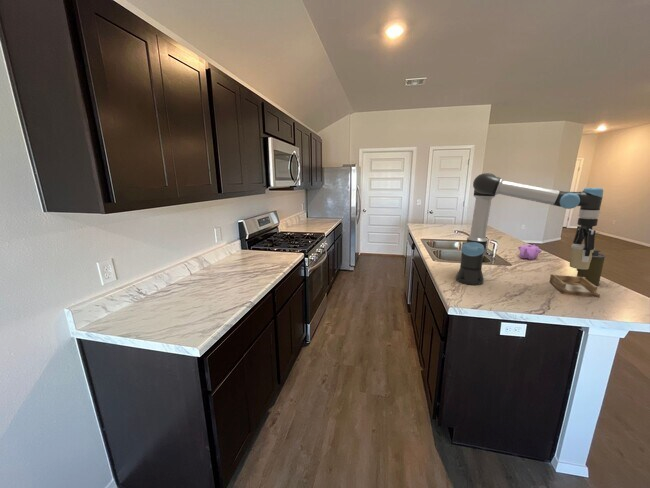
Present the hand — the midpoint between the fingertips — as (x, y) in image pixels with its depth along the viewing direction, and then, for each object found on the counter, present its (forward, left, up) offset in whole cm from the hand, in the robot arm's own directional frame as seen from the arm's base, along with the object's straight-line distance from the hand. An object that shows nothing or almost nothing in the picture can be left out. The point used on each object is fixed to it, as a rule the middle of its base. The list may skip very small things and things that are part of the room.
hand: (580, 259), depth 149 cm
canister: (+12, +17, -18) cm, 28 cm away
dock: (0, +2, -18) cm, 18 cm away
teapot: (-5, +66, -18) cm, 69 cm away
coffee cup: (0, 0, -5) cm, 5 cm away
